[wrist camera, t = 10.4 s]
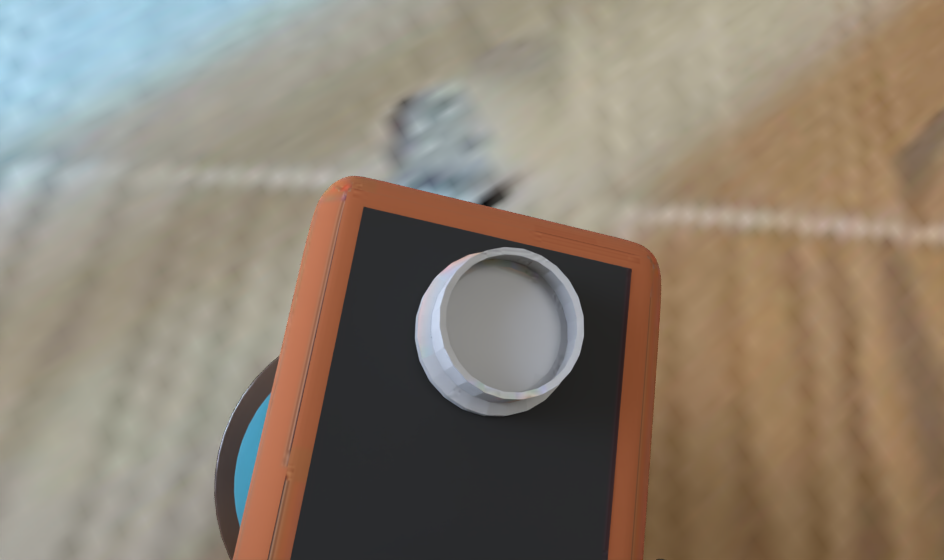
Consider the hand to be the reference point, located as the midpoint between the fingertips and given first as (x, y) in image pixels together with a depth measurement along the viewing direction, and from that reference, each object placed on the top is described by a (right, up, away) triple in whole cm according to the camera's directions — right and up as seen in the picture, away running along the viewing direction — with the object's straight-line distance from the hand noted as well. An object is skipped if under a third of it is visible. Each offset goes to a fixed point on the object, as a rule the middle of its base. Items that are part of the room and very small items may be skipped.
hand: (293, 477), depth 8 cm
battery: (0, -2, +7) cm, 8 cm away
